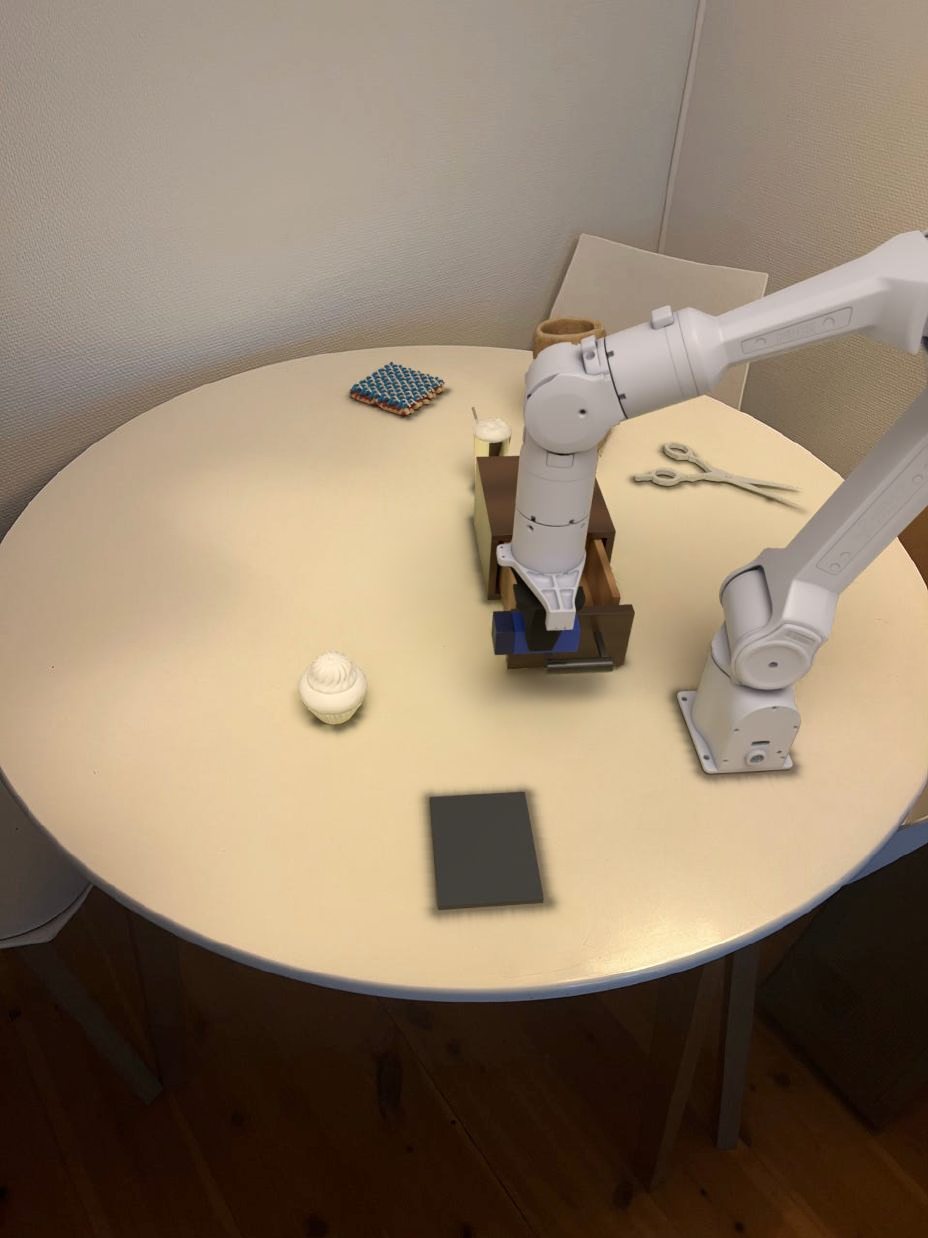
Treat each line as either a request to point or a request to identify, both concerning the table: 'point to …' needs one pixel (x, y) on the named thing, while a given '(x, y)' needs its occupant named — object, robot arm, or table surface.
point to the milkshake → (491, 437)
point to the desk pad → (484, 851)
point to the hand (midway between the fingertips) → (537, 635)
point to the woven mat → (397, 389)
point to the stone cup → (566, 336)
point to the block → (513, 640)
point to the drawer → (582, 620)
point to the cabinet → (499, 510)
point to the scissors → (711, 473)
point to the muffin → (332, 687)
